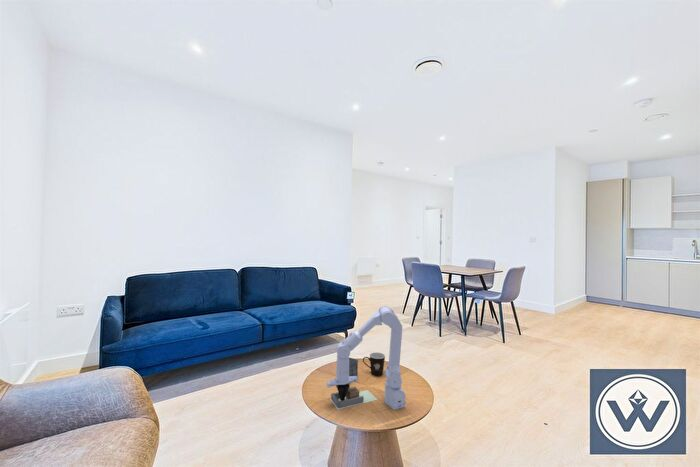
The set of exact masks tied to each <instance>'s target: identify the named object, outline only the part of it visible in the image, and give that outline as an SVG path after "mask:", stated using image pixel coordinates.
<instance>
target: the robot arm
mask: <svg viewBox="0 0 700 467" xmlns="http://www.w3.org/2000/svg"><path fill="white" fill-rule="evenodd" d="M383 324H384V325H385V326H388V327H389V328H390V329H391V330H390V342H389V353H388V354H389V355H388V362H387V365H386V368H385V370H384V375H385V377H386V381H385V382H384V403H385V404H386V405H387V406H389V407H390V408H391V409H392V410H394V411H395V410H400V409H403V408H405V407H406V393H405V391H404V390H403V389H402V388H403V387H402V384H403V379H402V377H401V374H402V373H401V372H402V371H401V366H400V364H401V363H400V362H401V352H402V351H401V350H402V349H401V348H402V339H403V338H402V337H403V324H402V323H401V321H400V319H399V318H398V315H396V313H395V311H394V310H393V309H391V307H389V306H387V305H383V306H380V307H379V309H378V310H376V311H375V312H374V313H373V314H372V315H371V317H370V318H368V319H367V321H366V322H365V323H363V325H362V326H361V327H360V328H359V329H358V330H353V331H350V332H349V335H348V336H346V338H345V339H342V340H341V342H339V343H338V344H337V347H336V375H335V378H334V379H331V380H328V381H326V387H327V388H328V389H330V388H331V387H336V389H337V392H339V396H340V400H341V401H343V400H345V396H346V393H347V391H348V389H349V388H350V384H351V383H357V382H359V381H358V380H359V379H358V377H359V376H358V377H357V376H349V358H350V356H351V352H352V351H353V350H354V349H355V348H356V347H357V346H358V345H359V344H361V343H362V342H363V339H364V338H363V337H364V336H366V334H367V333H369V332H370V331H371V330H372V329H373V328H374V327H376V326H383ZM350 382H351V383H350ZM349 383H350V384H349Z"/></svg>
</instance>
